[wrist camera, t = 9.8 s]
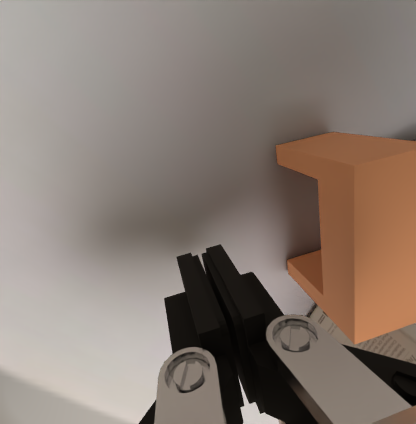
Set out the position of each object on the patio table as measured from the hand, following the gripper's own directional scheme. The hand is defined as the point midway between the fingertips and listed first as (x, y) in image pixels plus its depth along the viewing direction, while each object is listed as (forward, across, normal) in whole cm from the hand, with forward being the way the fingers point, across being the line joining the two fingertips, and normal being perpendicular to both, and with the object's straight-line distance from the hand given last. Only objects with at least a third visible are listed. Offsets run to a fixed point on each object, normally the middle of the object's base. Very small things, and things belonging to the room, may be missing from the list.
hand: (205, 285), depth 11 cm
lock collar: (+4, -6, 0) cm, 8 cm away
